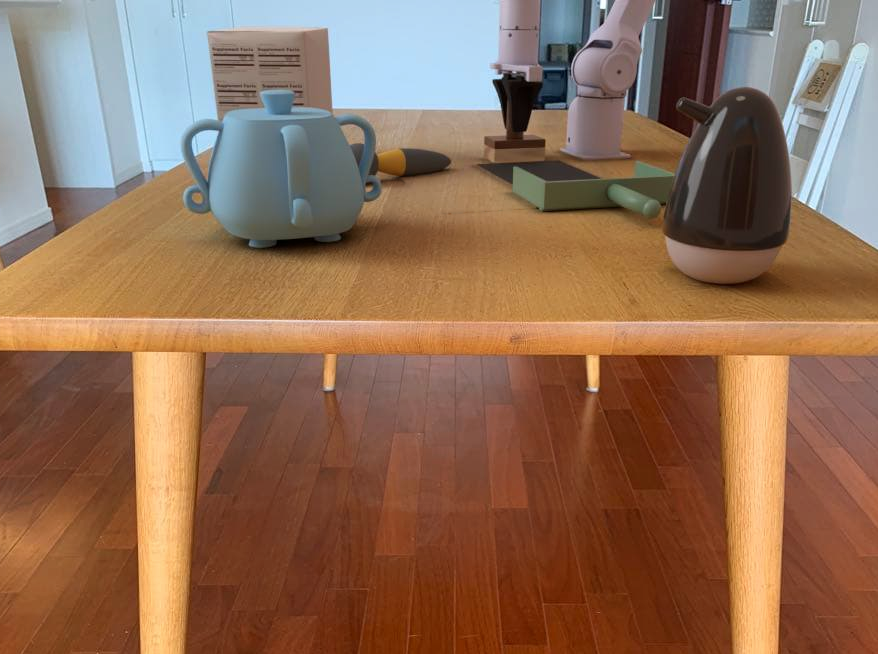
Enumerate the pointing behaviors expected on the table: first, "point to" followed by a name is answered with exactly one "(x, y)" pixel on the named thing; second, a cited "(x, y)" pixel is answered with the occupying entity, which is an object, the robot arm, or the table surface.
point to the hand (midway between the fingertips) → (515, 130)
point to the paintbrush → (403, 161)
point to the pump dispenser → (730, 190)
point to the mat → (539, 170)
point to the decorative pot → (282, 172)
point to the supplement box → (270, 66)
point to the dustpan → (599, 191)
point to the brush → (514, 146)
